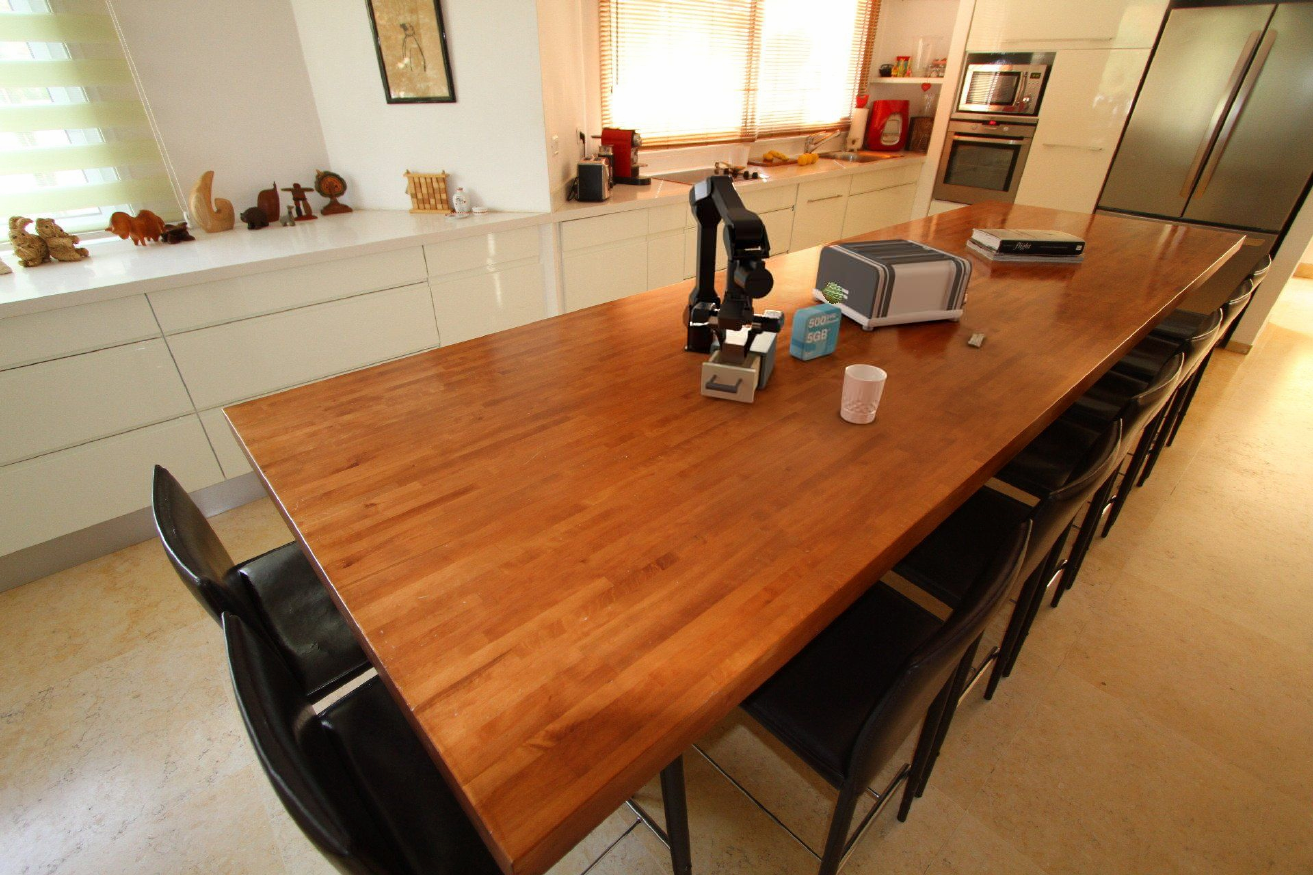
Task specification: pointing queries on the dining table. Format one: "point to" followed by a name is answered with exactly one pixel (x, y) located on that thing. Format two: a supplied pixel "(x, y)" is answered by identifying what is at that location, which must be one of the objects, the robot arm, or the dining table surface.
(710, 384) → the drawer
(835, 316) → the data package
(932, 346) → the dining table surface
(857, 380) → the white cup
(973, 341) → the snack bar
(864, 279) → the toaster
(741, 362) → the block
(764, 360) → the cabinet
